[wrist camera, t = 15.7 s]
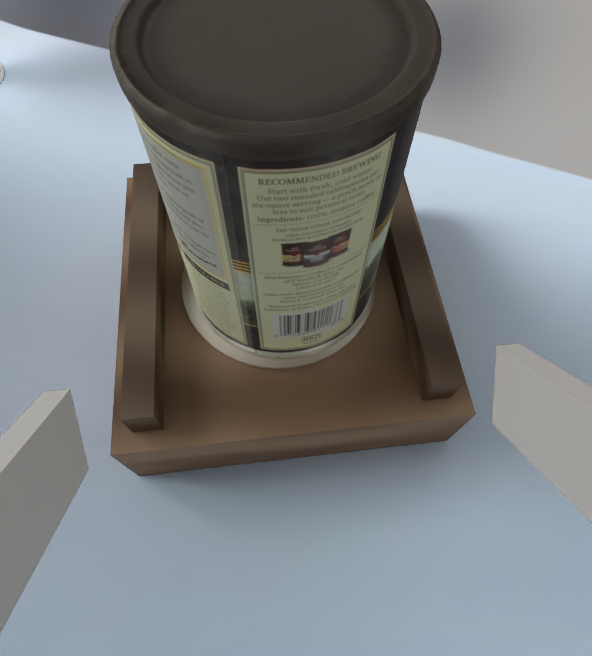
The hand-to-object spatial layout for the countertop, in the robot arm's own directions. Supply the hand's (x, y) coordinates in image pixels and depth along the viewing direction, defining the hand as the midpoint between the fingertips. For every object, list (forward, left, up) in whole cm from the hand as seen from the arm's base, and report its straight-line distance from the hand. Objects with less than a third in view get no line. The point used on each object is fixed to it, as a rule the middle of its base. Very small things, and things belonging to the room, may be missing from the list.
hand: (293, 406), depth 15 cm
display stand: (-9, +5, -14) cm, 18 cm away
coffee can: (-9, +5, -9) cm, 14 cm away
